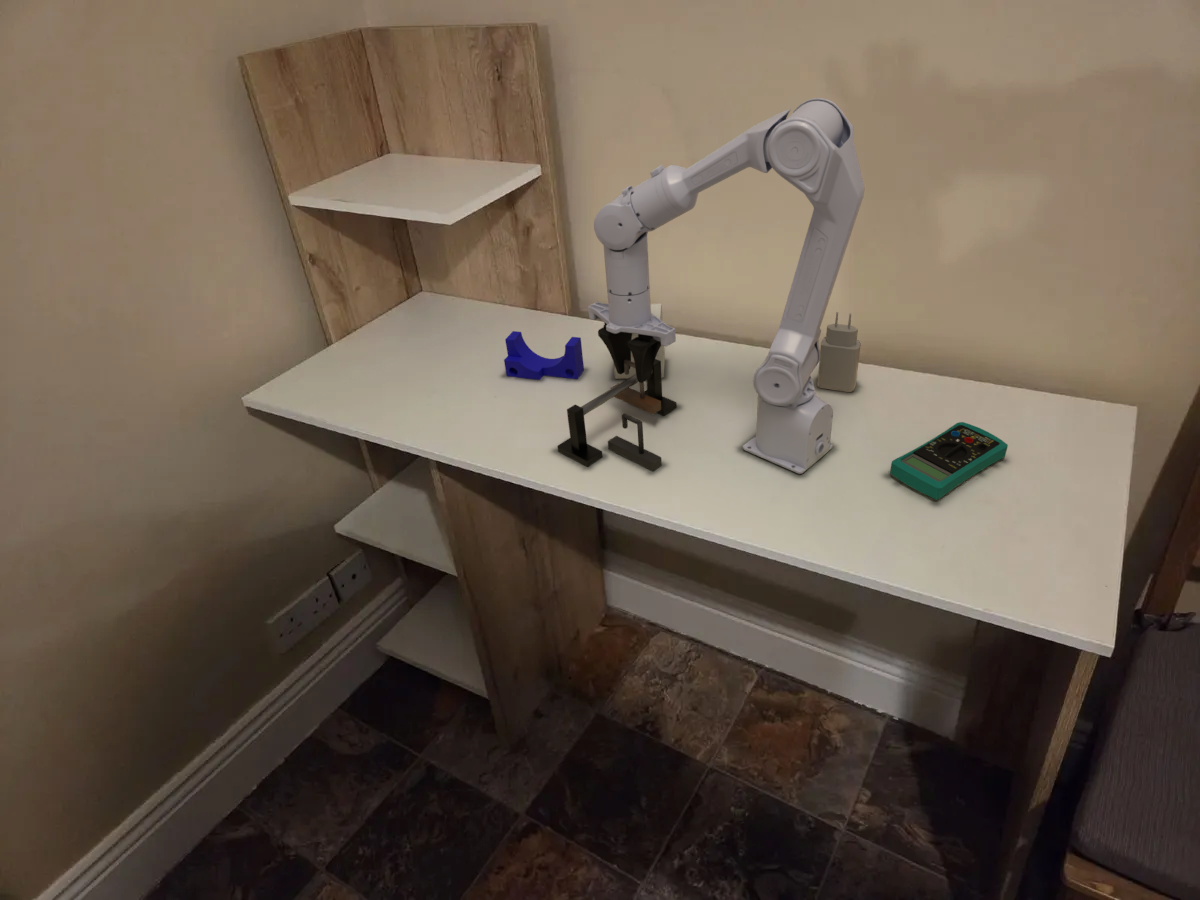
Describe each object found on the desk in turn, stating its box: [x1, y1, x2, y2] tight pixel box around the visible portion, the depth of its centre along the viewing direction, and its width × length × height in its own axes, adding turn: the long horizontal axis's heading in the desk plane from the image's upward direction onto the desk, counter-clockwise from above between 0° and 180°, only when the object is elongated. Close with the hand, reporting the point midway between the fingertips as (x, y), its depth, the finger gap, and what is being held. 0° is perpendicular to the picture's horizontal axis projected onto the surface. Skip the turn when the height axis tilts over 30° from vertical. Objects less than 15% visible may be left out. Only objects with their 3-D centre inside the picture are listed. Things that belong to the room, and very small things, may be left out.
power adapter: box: [816, 311, 862, 393], centre depth 119 cm, size 3×5×12 cm, turn 65°
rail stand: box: [557, 359, 678, 468], centre depth 115 cm, size 6×19×8 cm, turn 136°
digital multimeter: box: [889, 421, 1009, 500], centre depth 103 cm, size 7×15×3 cm, turn 125°
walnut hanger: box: [609, 360, 661, 415], centre depth 116 cm, size 8×2×7 cm, turn 46°
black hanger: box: [607, 412, 663, 472], centre depth 110 cm, size 8×2×7 cm, turn 45°
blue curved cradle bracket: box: [503, 330, 585, 381], centre depth 131 cm, size 12×4×6 cm, turn 70°
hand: (633, 375), depth 115 cm, fingers closed on walnut hanger, 3 cm apart
